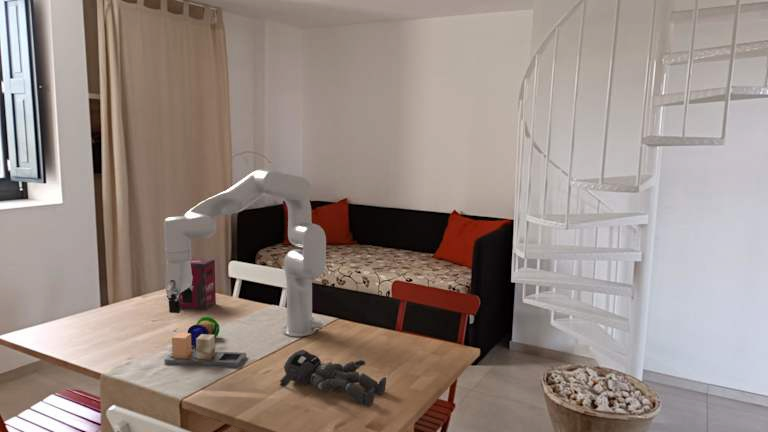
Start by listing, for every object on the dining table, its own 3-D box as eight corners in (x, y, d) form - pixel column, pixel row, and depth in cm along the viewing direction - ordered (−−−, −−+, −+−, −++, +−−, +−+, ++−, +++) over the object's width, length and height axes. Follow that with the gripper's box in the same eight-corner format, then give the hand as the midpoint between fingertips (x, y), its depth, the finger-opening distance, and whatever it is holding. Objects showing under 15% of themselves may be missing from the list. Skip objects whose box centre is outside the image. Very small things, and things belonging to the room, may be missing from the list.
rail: (246, 360, 182) (246, 352, 182) (238, 370, 174) (238, 362, 174) (175, 357, 184) (175, 349, 183) (164, 367, 176) (164, 359, 175)
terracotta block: (191, 356, 181) (191, 333, 180) (186, 362, 177) (185, 338, 176) (178, 355, 182) (177, 332, 180) (172, 361, 177) (171, 337, 176)
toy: (213, 334, 187) (230, 319, 202) (193, 318, 187) (212, 304, 202) (194, 359, 189) (212, 342, 204) (174, 344, 189) (194, 328, 204)
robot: (366, 391, 149) (275, 357, 160) (362, 425, 151) (272, 389, 162) (391, 368, 163) (307, 339, 175) (387, 399, 165) (303, 368, 177)
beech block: (215, 358, 181) (214, 334, 180) (210, 363, 176) (209, 339, 175) (202, 357, 181) (201, 334, 180) (196, 362, 177) (196, 339, 175)
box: (169, 307, 235) (168, 262, 232) (180, 301, 244) (179, 257, 241) (206, 310, 232) (204, 264, 229) (215, 304, 241) (214, 259, 238)
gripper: (178, 249, 183) (181, 299, 186) (153, 262, 166) (157, 316, 169) (200, 249, 182) (203, 299, 185) (178, 262, 165) (181, 317, 168)
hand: (181, 307), depth 177 cm, fingers open, 9 cm apart
